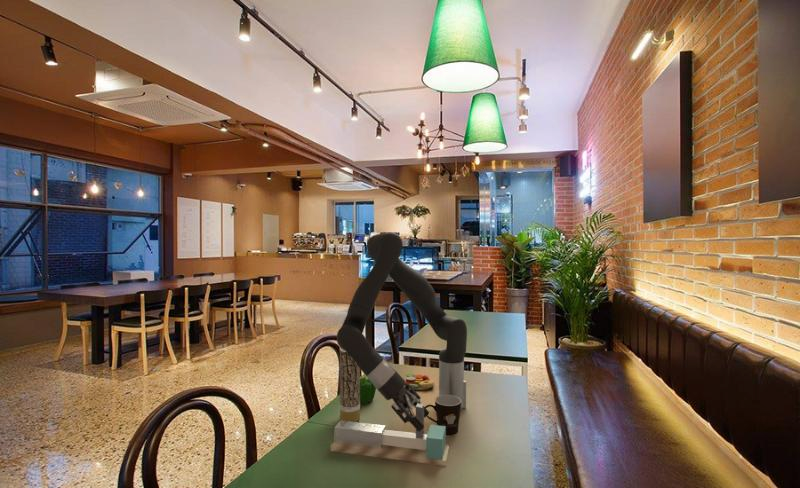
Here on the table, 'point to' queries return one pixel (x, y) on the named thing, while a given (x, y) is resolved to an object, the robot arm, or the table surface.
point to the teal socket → (436, 442)
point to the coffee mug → (447, 412)
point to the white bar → (407, 435)
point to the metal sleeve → (359, 434)
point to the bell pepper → (366, 390)
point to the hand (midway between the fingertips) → (424, 422)
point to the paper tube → (349, 388)
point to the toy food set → (418, 382)
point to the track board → (392, 453)
